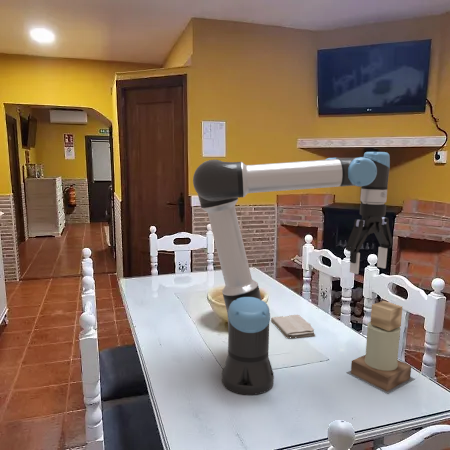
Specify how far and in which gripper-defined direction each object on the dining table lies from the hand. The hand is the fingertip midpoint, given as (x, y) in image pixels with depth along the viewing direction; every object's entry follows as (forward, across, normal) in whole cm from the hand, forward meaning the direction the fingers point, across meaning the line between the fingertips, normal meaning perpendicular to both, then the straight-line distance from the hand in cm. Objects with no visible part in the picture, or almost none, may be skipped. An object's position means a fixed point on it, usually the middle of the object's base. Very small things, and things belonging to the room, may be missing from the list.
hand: (368, 270), depth 128 cm
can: (+26, -5, -10) cm, 28 cm away
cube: (+14, -4, -11) cm, 18 cm away
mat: (+30, -5, -10) cm, 32 cm away
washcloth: (+31, -2, +30) cm, 43 cm away
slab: (+29, -5, -10) cm, 31 cm away
